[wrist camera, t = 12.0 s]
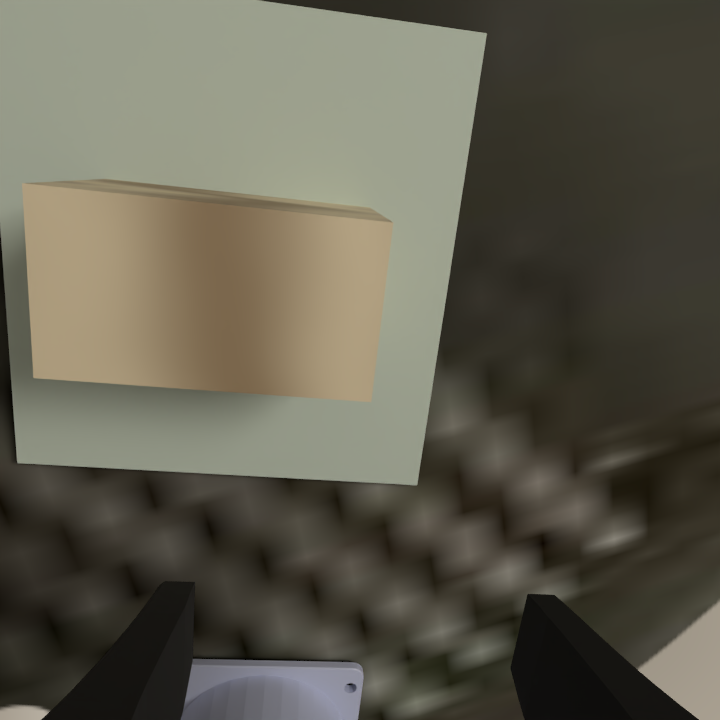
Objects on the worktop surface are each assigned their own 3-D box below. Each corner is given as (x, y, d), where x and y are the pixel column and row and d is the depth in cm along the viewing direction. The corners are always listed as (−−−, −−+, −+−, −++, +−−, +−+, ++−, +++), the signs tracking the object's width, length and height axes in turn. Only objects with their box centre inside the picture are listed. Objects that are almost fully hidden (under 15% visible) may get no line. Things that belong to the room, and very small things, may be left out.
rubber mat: (414, 478, 22) (417, 485, 22) (23, 456, 21) (17, 462, 20) (482, 37, 18) (486, 33, 17) (-10, -34, 16) (-19, -40, 16)
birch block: (108, 320, 19) (33, 377, 14) (106, 178, 18) (21, 183, 13) (354, 341, 20) (371, 402, 15) (369, 207, 19) (393, 222, 13)
